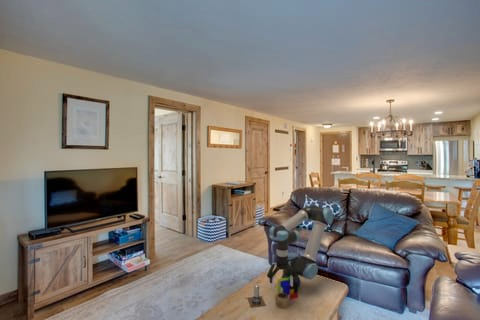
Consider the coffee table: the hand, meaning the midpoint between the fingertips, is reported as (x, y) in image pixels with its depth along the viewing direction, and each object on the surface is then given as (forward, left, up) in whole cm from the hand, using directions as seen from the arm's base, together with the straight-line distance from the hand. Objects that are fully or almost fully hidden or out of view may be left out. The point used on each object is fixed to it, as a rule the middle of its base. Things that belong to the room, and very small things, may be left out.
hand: (281, 286), depth 165 cm
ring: (0, 0, -12) cm, 12 cm away
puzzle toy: (-10, +8, -13) cm, 18 cm away
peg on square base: (-6, -16, -12) cm, 21 cm away
